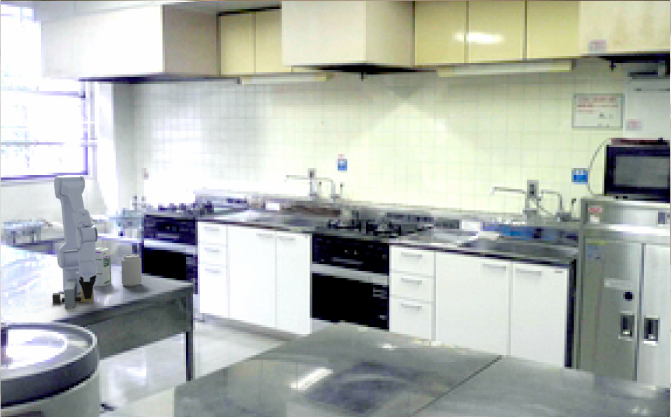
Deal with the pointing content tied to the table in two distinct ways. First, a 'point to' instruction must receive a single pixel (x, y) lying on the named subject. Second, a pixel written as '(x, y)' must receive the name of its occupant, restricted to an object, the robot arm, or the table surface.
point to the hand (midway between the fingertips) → (88, 297)
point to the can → (131, 270)
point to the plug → (57, 298)
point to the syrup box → (103, 267)
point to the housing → (70, 293)
